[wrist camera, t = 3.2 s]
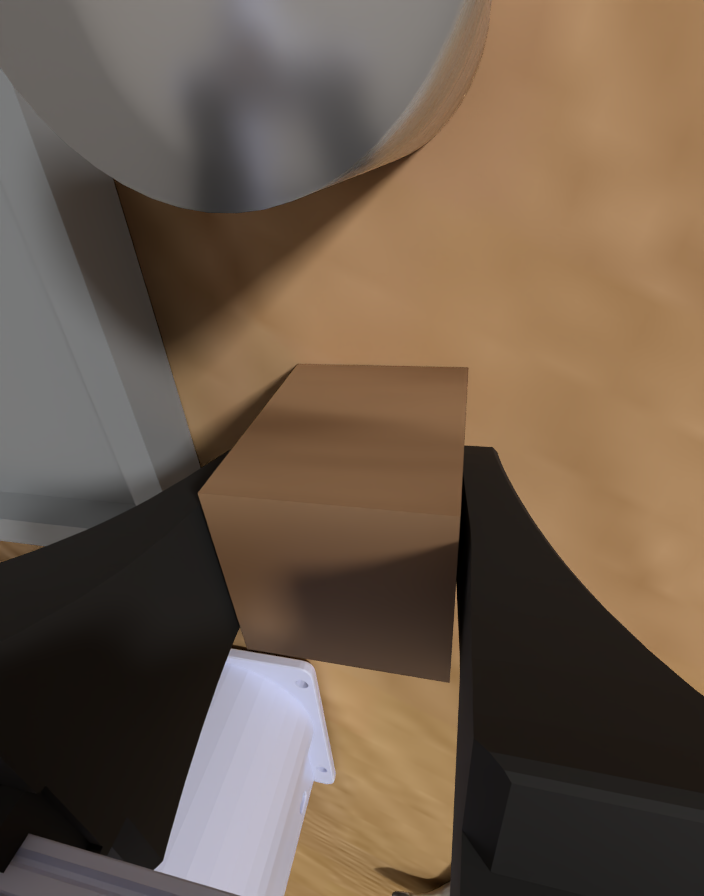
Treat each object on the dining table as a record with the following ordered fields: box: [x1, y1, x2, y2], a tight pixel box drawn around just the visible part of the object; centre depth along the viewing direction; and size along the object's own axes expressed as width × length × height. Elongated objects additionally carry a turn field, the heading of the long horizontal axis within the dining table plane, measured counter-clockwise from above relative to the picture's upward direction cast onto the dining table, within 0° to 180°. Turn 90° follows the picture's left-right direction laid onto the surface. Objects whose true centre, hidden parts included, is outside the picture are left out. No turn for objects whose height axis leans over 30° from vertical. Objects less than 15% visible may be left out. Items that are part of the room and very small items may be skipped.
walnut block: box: [198, 364, 468, 683], centre depth 10 cm, size 4×4×5 cm
